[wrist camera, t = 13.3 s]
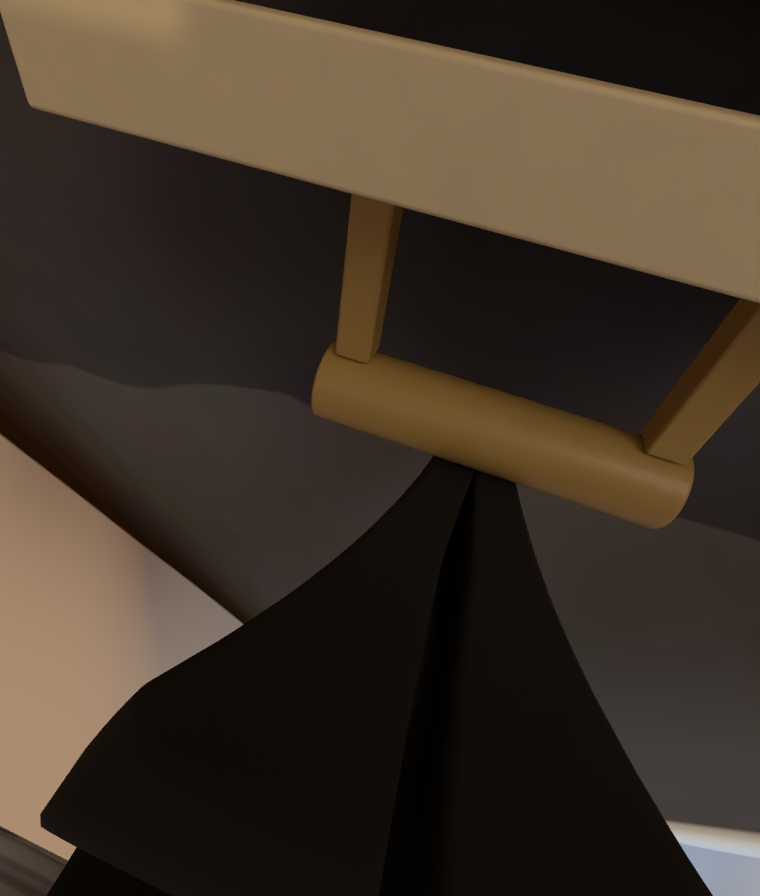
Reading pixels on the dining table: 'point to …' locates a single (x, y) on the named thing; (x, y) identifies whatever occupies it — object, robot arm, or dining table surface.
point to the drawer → (444, 205)
